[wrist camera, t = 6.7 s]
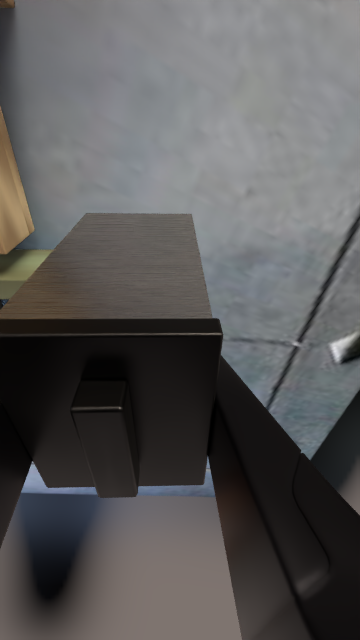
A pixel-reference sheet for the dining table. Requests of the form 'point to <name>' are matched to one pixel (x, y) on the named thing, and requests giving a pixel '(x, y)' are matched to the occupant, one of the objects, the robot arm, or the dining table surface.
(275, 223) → the dining table surface
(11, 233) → the drawer
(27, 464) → the robot arm
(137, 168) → the dining table surface
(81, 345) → the metal box
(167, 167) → the dining table surface
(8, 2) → the cabinet
